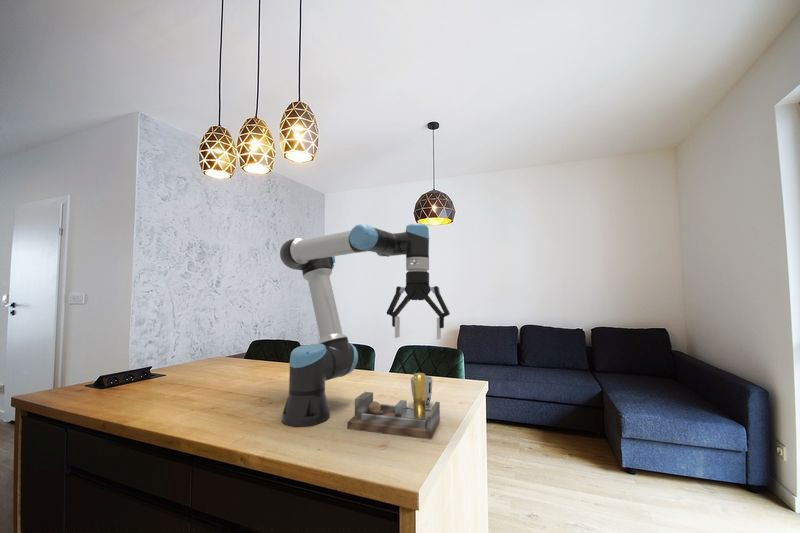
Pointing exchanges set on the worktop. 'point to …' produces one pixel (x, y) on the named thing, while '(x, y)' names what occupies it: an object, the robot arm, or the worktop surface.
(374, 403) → the nut
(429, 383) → the cup
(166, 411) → the worktop surface
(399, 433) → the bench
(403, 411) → the lever
